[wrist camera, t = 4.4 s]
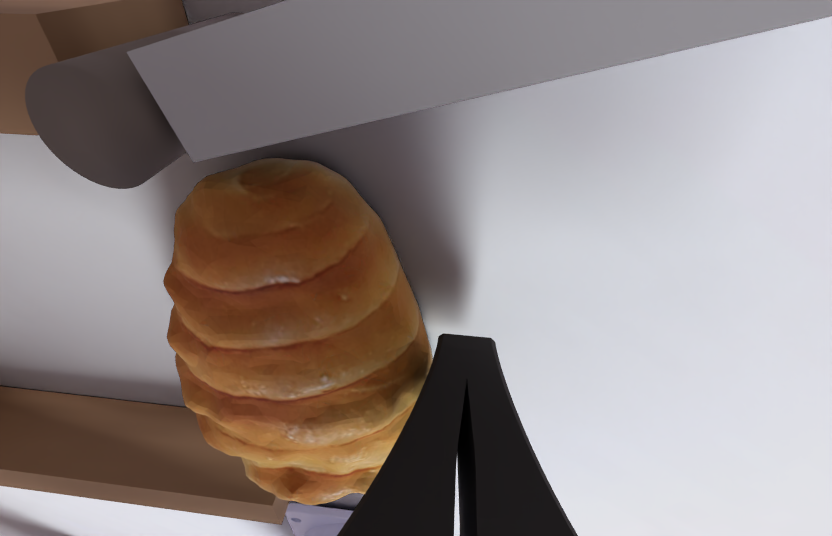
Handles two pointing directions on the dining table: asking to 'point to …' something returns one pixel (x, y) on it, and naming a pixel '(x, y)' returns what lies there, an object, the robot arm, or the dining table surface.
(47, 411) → the frame
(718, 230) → the dining table surface
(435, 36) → the grey flat bar
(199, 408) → the pastry
